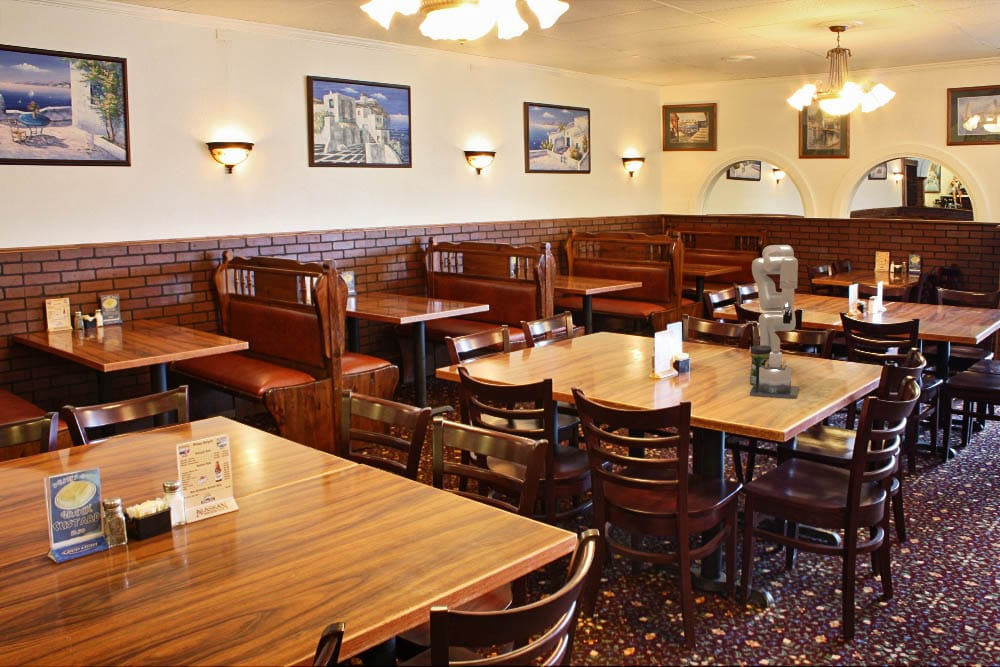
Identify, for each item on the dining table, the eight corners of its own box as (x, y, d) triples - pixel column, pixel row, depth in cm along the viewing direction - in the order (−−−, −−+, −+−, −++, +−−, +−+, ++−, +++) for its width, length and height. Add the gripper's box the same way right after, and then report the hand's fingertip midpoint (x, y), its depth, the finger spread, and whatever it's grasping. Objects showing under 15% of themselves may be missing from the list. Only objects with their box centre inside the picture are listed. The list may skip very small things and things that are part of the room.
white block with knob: (770, 364, 403) (770, 348, 401) (781, 365, 401) (782, 348, 400) (769, 366, 398) (769, 350, 397) (780, 367, 396) (781, 350, 395)
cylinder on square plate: (754, 386, 414) (755, 356, 412) (799, 389, 407) (800, 358, 404) (749, 395, 396) (750, 364, 394) (796, 398, 388) (797, 367, 386)
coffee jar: (764, 381, 425) (765, 343, 422) (773, 384, 417) (775, 346, 414) (746, 383, 422) (747, 345, 419) (755, 386, 415) (756, 347, 412)
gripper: (781, 282, 411) (780, 319, 413) (778, 286, 395) (777, 324, 397) (798, 283, 408) (797, 319, 411) (795, 287, 392) (794, 325, 395)
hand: (787, 322), depth 404 cm, fingers open, 9 cm apart
